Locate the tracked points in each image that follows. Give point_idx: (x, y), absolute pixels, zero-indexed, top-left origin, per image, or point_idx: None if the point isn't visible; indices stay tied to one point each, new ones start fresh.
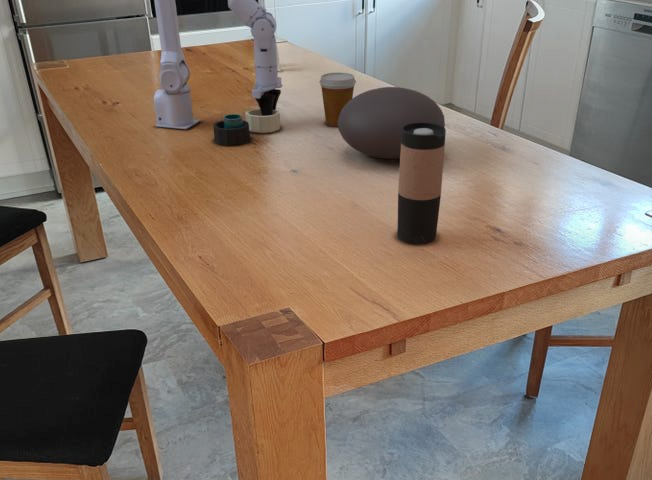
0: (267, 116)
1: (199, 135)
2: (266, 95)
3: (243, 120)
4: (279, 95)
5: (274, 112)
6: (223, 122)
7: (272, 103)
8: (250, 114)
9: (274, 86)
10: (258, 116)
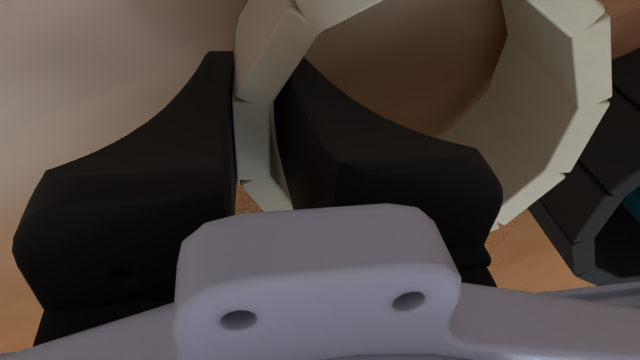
0: (607, 28)
1: (512, 286)
2: (487, 256)
3: (625, 184)
4: (94, 158)
5: (304, 48)
6: (601, 264)
7: (358, 124)
8: (512, 199)
9: (469, 329)
10: (602, 114)
